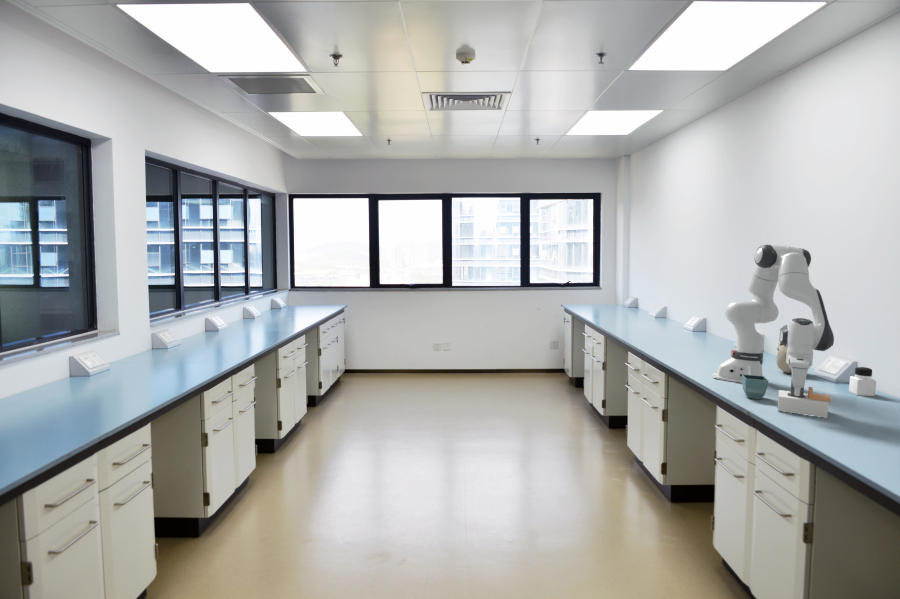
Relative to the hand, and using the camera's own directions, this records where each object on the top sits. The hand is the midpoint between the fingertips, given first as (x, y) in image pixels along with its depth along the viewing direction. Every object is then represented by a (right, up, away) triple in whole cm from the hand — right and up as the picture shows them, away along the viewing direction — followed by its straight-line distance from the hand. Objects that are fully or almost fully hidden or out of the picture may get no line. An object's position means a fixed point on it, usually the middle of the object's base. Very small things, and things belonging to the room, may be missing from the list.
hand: (796, 394), depth 215 cm
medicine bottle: (+47, -5, +27) cm, 54 cm away
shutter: (+6, -1, -4) cm, 7 cm away
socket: (+2, -7, 0) cm, 7 cm away
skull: (+39, -1, +67) cm, 77 cm away
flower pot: (-7, -5, +19) cm, 20 cm away
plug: (0, -3, 0) cm, 3 cm away
